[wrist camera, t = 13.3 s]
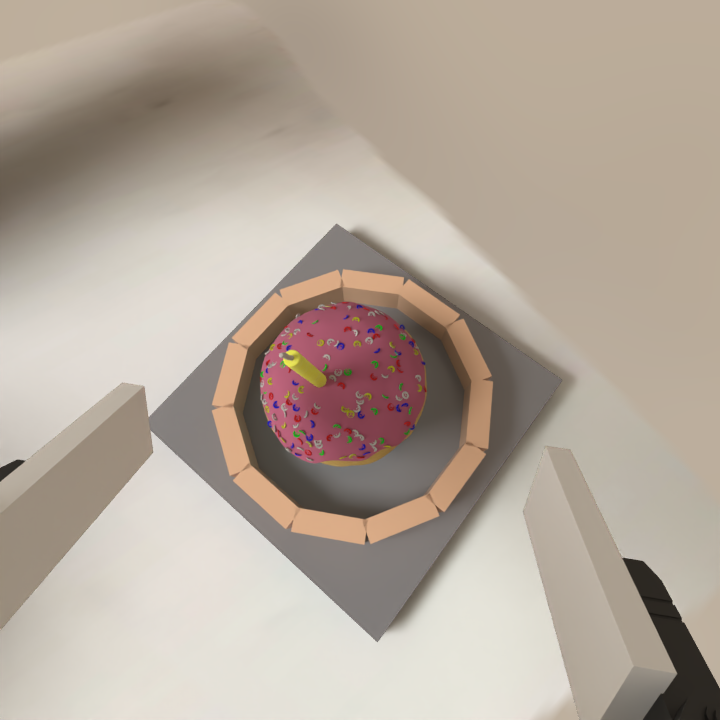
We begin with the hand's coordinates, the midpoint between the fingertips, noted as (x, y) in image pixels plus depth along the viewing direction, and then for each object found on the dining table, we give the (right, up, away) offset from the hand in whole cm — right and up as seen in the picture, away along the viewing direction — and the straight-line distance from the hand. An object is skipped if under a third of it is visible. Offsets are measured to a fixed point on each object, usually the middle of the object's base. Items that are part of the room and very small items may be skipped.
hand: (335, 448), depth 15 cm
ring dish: (0, 0, +14) cm, 14 cm away
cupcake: (0, 0, +13) cm, 13 cm away
